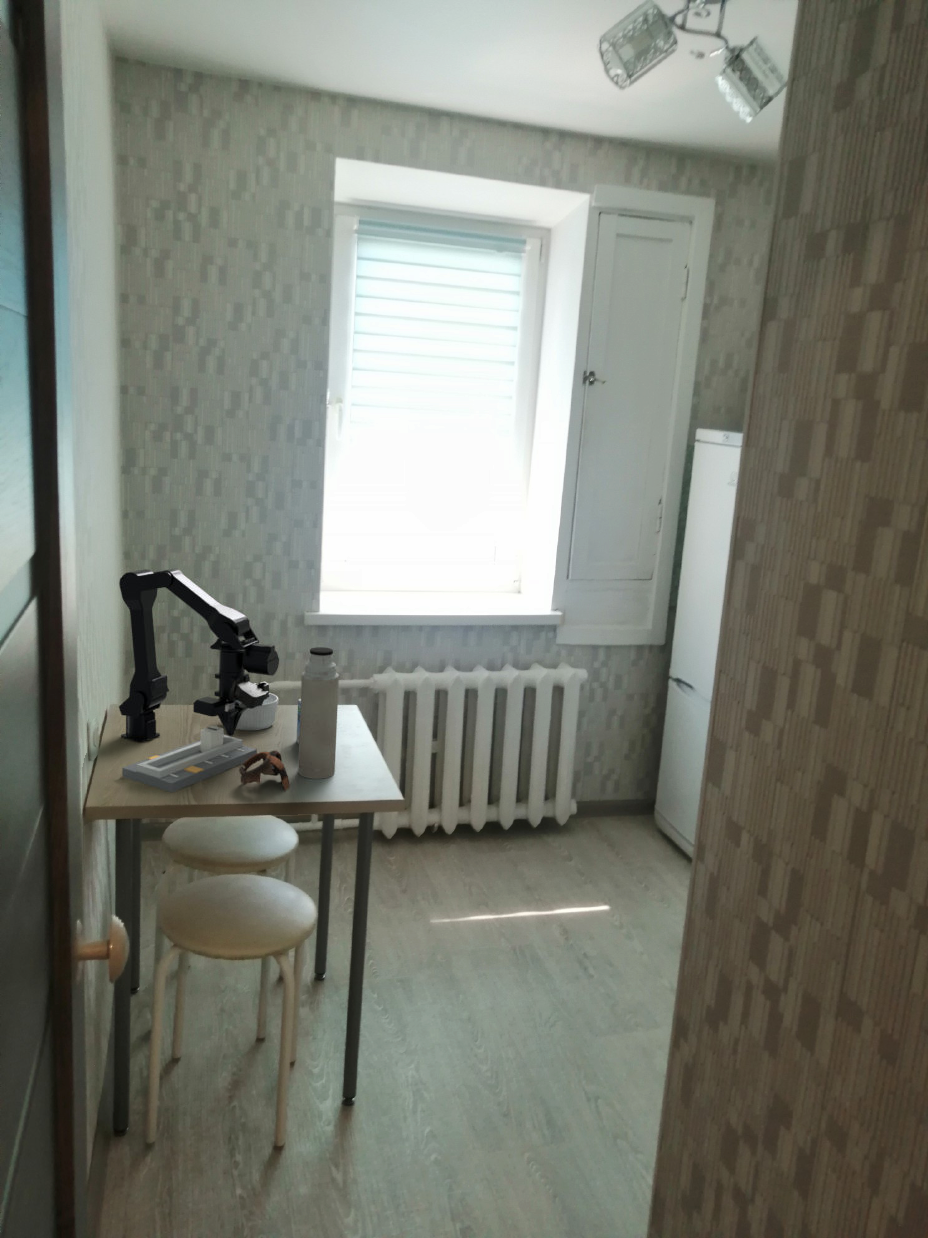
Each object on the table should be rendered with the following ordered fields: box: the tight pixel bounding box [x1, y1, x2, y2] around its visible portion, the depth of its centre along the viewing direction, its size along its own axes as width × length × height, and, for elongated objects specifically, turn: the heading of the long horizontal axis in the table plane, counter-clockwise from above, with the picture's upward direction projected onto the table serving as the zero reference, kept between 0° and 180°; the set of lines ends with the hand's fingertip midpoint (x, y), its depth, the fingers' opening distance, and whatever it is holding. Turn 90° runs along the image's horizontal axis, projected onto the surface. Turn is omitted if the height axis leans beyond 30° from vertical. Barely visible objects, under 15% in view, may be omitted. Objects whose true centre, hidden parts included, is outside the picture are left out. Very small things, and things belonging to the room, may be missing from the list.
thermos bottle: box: [297, 646, 340, 780], centre depth 200 cm, size 8×8×28 cm
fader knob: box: [199, 725, 225, 752], centre depth 205 cm, size 3×4×5 cm
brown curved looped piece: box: [238, 749, 291, 791], centre depth 194 cm, size 12×10×8 cm
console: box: [121, 734, 258, 793], centre depth 200 cm, size 14×26×4 cm, turn 152°
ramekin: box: [227, 692, 279, 731], centre depth 231 cm, size 13×13×7 cm
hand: (230, 735), depth 210 cm, fingers closed
